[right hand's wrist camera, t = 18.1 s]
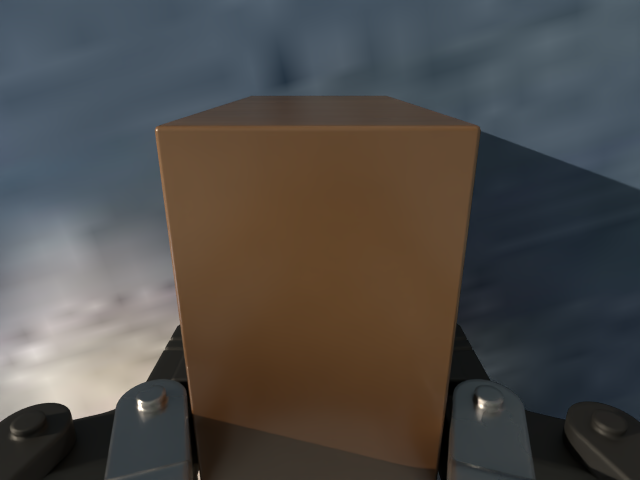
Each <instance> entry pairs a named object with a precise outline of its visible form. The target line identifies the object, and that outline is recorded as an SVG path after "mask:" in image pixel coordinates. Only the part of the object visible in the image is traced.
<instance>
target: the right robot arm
mask: <svg viewBox="0 0 640 480" xmlns="http://www.w3.org/2000/svg"><path fill="white" fill-rule="evenodd" d="M198 471H199V464H198V456H197V448H196V441H195V433H194V425H193V418H192V410H191V402H190V395H189V387H188V379H187V372H186V364H185V357H184V349H183V341H182V334H181V326H180V325H179V326H177V328H176V330H175V332H174V333H173V335H172V337H171V341H169V342H168V344H167V346H166V348H165V350H164V351H163V353H162V355H161V356H160V358H159V360H158V362H157V364H156V365H155V367H154V369H153V371H152V372H151V374H150V376H149V378H148V380H147V381H146V382H145V383H142V384H139V385H137V386H135V387H133V388H132V389H130V390H129V391H127V392H126V393H125V394H124V395H123V396H122V397H121V398H120V400H119V401H118V403H117V406H116V409H114V410H111V411H109V412H105V413H102V414H98V415H93V416H89V417H84V418H80V419H75V420H72V416H71V412H70V410H69V409H68V408H67V407H66V406H64V405H62V404H58V403H42V404H37V405H33V406H30V407H27V408H24V409H22V410H20V411H18V412H15V413H14V414H12V415H10V416H8V417H7V418H5V419H4V420H3V421H1V422H0V480H198V476H197V475H198ZM438 471H439V474H440V478H441V480H640V422H639V421H637V420H636V419H635V418H633V417H632V416H630V415H629V414H627V413H625V412H624V411H621V410H619V409H617V408H615V407H612V406H609V405H606V404H602V403H597V402H579V403H576V404H574V405H572V406H571V407H570V408H569V410H568V412H567V416H566V420H564V419H560V418H555V417H551V416H546V415H542V414H538V413H534V412H530V411H527V410H524V406H523V403H522V401H521V400H520V398H519V397H518V396H517V395H516V394H515V393H514V392H513V391H511V390H510V389H508V388H507V387H505V386H503V385H501V384H498V383H495V382H492V381H490V379H489V377H488V375H487V374H486V372H485V370H484V368H483V366H482V365H481V363H480V361H479V359H478V357H477V356H476V354H475V352H474V350H472V347H471V345H470V343H469V341H468V340H467V338H466V336H465V334H464V332H463V331H462V329H461V327H460V326H459V325H458V324H457V323H456V331H455V339H454V347H453V355H452V363H451V371H450V379H449V387H448V395H447V403H446V411H445V419H444V426H443V434H442V442H441V450H440V458H439V466H438Z"/></svg>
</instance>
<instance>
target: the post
mask: <svg viewBox="0 0 640 480" xmlns="http://www.w3.org/2000/svg"><path fill="white" fill-rule="evenodd" d="M480 132H481V130H480V127H479V126H477V125H474V124H471V123H468V122H465V121H462V120H459V119H456V118H453V117H450V116H446V115H443V114H440V113H437V112H434V111H431V110H428V109H425V108H422V107H419V106H416V105H413V104H410V103H407V102H404V101H400V100H397V99H394V98H391V97H388V96H250V97H247V98H244V99H241V100H238V101H235V102H231V103H228V104H225V105H222V106H219V107H216V108H213V109H209V110H206V111H203V112H200V113H197V114H194V115H191V116H188V117H184V118H181V119H178V120H175V121H172V122H169V123H166V124H163V125H160V126H157V127H156V129H155V135H156V142H157V150H158V158H159V165H160V173H161V181H162V188H163V196H164V204H165V211H166V219H167V226H168V234H169V242H170V249H171V257H172V265H173V272H174V280H175V288H176V295H177V303H178V311H179V318H180V326H181V334H182V341H183V349H184V357H185V364H186V372H187V379H188V387H189V395H190V402H191V410H192V418H193V425H194V433H195V441H196V448H197V456H198V464H199V471H200V479H201V480H437V474H438V466H439V458H440V450H441V442H442V434H443V426H444V419H445V411H446V403H447V395H448V387H449V379H450V371H451V363H452V355H453V347H454V339H455V331H456V323H457V315H458V307H459V299H460V291H461V283H462V275H463V268H464V260H465V252H466V244H467V236H468V228H469V220H470V212H471V204H472V196H473V188H474V180H475V172H476V164H477V156H478V148H479V140H480Z"/></svg>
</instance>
